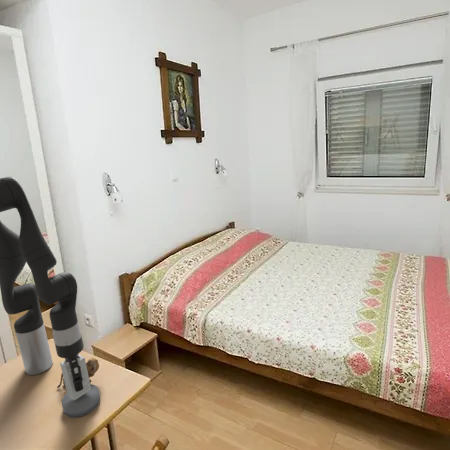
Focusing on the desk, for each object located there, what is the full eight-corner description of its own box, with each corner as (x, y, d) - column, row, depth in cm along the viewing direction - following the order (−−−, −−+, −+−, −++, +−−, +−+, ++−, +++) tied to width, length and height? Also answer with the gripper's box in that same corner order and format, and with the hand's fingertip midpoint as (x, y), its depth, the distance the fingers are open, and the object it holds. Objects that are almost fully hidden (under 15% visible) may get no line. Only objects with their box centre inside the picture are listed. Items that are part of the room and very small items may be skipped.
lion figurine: (102, 375, 123) (98, 353, 121) (101, 385, 118) (96, 362, 116) (58, 384, 120) (53, 362, 118) (55, 395, 115) (49, 372, 113)
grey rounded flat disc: (61, 401, 112) (59, 393, 111) (96, 386, 118) (94, 379, 117) (66, 423, 103) (64, 415, 102) (103, 407, 109) (102, 399, 108)
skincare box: (84, 384, 113) (78, 352, 110) (91, 389, 110) (85, 357, 107) (66, 395, 108) (59, 362, 105) (73, 401, 106) (66, 368, 103)
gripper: (51, 331, 108) (61, 377, 113) (57, 354, 96) (68, 404, 101) (76, 323, 112) (85, 368, 116) (85, 344, 100) (95, 393, 105)
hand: (77, 384), depth 109 cm, fingers closed on skincare box, 5 cm apart
